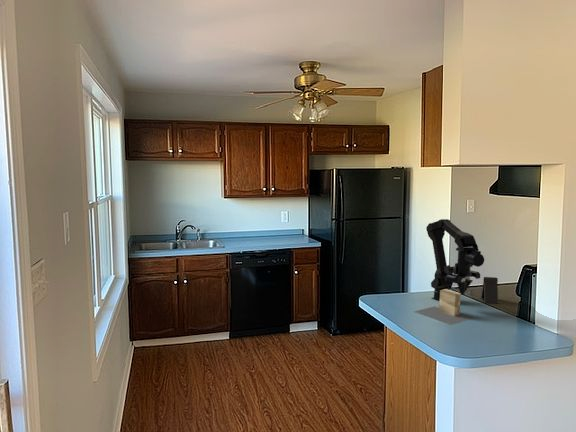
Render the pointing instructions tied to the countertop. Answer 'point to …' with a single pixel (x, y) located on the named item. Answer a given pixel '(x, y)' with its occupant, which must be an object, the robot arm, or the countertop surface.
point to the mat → (442, 315)
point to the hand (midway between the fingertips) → (462, 294)
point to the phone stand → (490, 290)
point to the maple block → (449, 302)
